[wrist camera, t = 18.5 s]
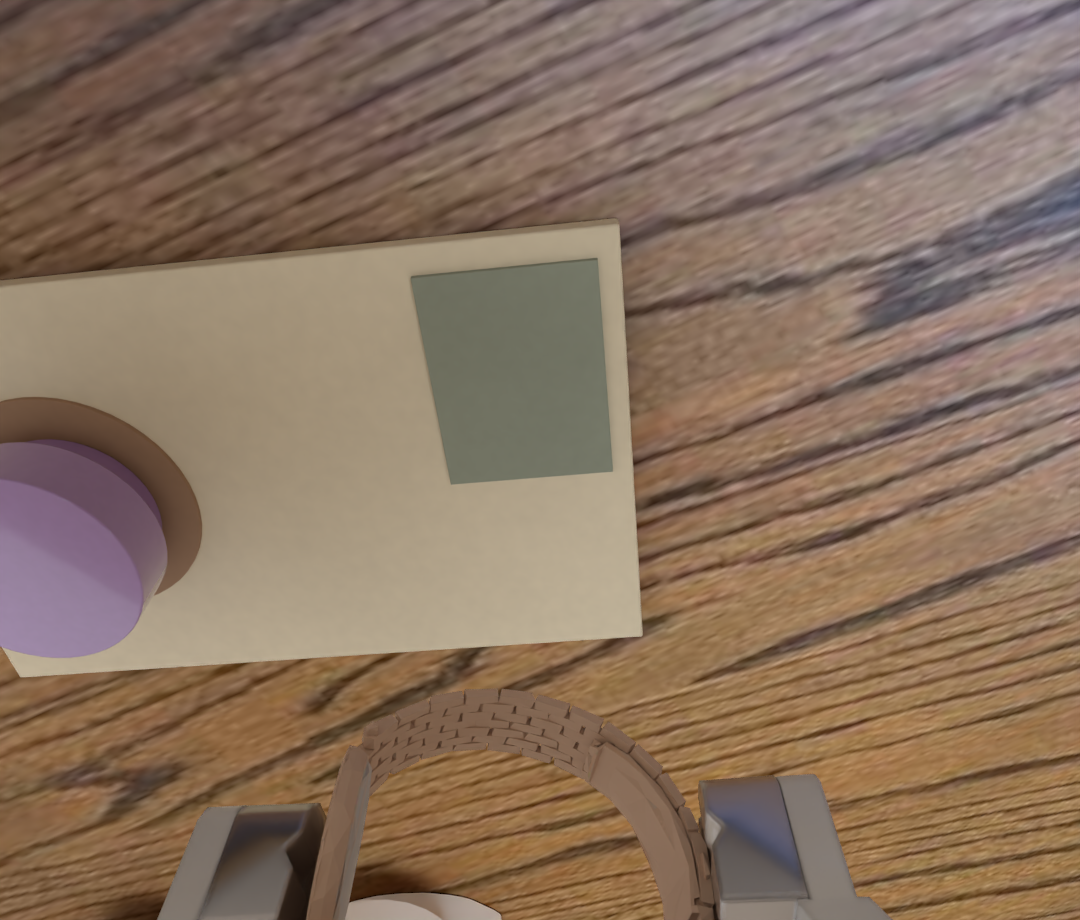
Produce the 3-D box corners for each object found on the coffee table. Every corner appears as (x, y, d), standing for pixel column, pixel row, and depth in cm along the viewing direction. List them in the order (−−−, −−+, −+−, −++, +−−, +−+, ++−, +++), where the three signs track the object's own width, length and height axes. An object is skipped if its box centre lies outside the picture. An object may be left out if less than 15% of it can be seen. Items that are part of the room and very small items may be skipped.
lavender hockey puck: (-75, 429, 24) (-149, 488, 22) (139, 410, 24) (89, 467, 21) (21, 597, 27) (-33, 665, 25) (210, 583, 27) (175, 651, 25)
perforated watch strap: (372, 633, 12) (269, 1029, 8) (701, 685, 12) (778, 1087, 8) (356, 756, 13) (262, 1148, 9) (651, 799, 14) (695, 1192, 9)
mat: (-192, 298, 23) (-214, 309, 22) (618, 217, 21) (620, 226, 21) (28, 665, 30) (17, 681, 30) (641, 624, 29) (643, 640, 28)
